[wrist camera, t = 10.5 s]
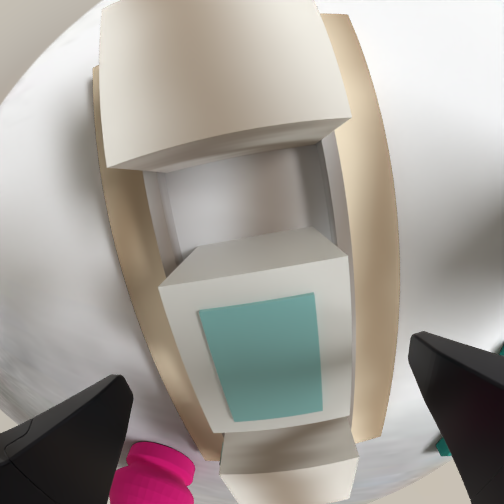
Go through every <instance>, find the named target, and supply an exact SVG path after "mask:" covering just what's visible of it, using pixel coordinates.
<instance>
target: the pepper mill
mask: <svg viewBox="0 0 504 504" xmlns="http://www.w3.org/2000/svg"><path fill="white" fill-rule="evenodd" d="M126 461H127V464H128V466H125V467H122V468H120V469H118V470H116V471H115V475H114V478H113V482H112V486H111V490H110V493H109V497H110V504H194V498H193V496H192V494H191V492H190V490H189V489H188V488H187V486H188V485H190V484H191V483H192V481H193V476H194V472H195V466H194V464H193V462H192V461H191V460H190V459H189V458H188V457H187V456H185V455H184V454H182V453H180V452H179V451H177V450H175V449H172V448H170V447H167V446H164V445H161V444H157V443H152V442H138V443H135V444H133V445H132V447H131V449H130V451H129V453H128V456H127V458H126Z"/></svg>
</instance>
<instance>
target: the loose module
mask: <svg viewBox="0 0 504 504" xmlns="http://www.w3.org/2000/svg"><path fill="white" fill-rule="evenodd" d="M158 289H159V292H160V296H161V299H162V302H163V306H164V309H165V312H166V315H167V318H168V321H169V324H170V327H171V330H172V333H173V336H174V339H175V342H176V344H177V347H178V350H179V353H180V355H181V358H182V361H183V363H184V366H185V369H186V371H187V374H188V376H189V379H190V381H191V384H192V386H193V389H194V391H195V393H196V396H197V398H198V400H199V403H200V405H201V407H202V410H203V412H204V414H205V416H206V418H207V421H208V423H209V425H210V427H211V429H212V431H213V433H229V432H247V431H260V430H270V429H278V428H286V427H293V426H300V425H306V424H311V423H317V422H322V421H327V420H332V419H336V418H341V417H345V416H349V415H350V402H351V380H352V314H351V291H350V275H349V262H348V255H346V254H345V253H344V252H343V251H342V250H340V249H339V248H338V247H337V246H336V245H335V244H333V243H332V242H331V241H330V240H328V239H327V238H326V237H325V236H324V235H322V234H321V233H320V232H319V231H318V230H316V229H315V228H314V227H313V226H311V227H305V228H299V229H293V230H287V231H281V232H275V233H269V234H264V235H258V236H252V237H246V238H241V239H235V240H229V241H224V242H218V243H213V244H207V245H201V246H198V247H197V248H196V249H195V250H194V251H193V252H192V253H191V254H190V255H189V256H188V257H187V258H186V259H185V260H184V261H183V262H182V263H181V264H180V265H179V266H178V267H177V268H176V269H175V270H174V271H173V272H172V273H171V274H170V275H169V276H168V277H167V278H166V279H165V280H164V281H163V282H162V283H161V284H160V285H159V286H158Z"/></svg>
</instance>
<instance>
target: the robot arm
mask: <svg viewBox="0 0 504 504" xmlns="http://www.w3.org/2000/svg"><path fill="white" fill-rule="evenodd" d="M408 361H409V364H410V367H411V369H412V372H413V374H414V376H415V379H416V381H417V384H418V386H419V389H420V391H421V394H422V396H423V398H424V401H425V403H426V405H427V407H428V409H429V410H430V412H431V414H432V416H433V418H434V420H435V422H436V424H437V426H438V428H439V430H440V432H441V434H442V436H443V438H444V440H445V442H446V444H447V446H448V449H449V451H450V453H451V455H452V457H453V459H454V462H455V464H456V466H457V468H458V471H459V473H460V475H461V478H462V480H463V482H464V485H465V487H466V490H467V492H468V495H469V498H470V499H471V504H504V356H501V355H498V354H495V353H491V352H488V351H485V350H482V349H478V348H475V347H472V346H469V345H465V344H462V343H459V342H456V341H453V340H450V339H446V338H443V337H440V336H437V335H434V334H431V333H428V332H425V331H422V332H419V333H416V334H413V335H412V336H411V339H410V347H409V354H408ZM132 404H133V394H132V391H131V390H130V388H129V386H128V384H127V382H126V380H125V378H124V377H123V376H122V375H115V374H112V375H109V376H107V377H106V378H104V379H102V380H100V381H99V382H97V383H95V384H94V385H92V386H90V387H88V388H87V389H85V390H83V391H81V392H79V393H78V394H76V395H74V396H72V397H71V398H69V399H67V400H65V401H63V402H62V403H60V404H58V405H56V406H54V407H52V408H51V409H49V410H47V411H45V412H43V413H41V414H39V415H38V416H36V417H34V418H32V419H30V420H28V421H26V422H24V423H22V424H20V425H18V426H16V427H14V428H12V429H9V430H8V431H5V432H3V433H0V504H107V501H108V497H109V493H110V490H111V486H112V482H113V478H114V475H115V471H116V468H117V464H118V461H119V457H120V454H121V451H122V447H123V444H124V441H125V437H126V433H127V428H128V423H129V418H130V413H131V408H132Z"/></svg>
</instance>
